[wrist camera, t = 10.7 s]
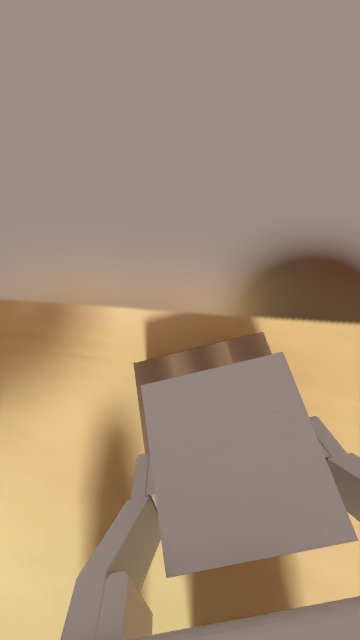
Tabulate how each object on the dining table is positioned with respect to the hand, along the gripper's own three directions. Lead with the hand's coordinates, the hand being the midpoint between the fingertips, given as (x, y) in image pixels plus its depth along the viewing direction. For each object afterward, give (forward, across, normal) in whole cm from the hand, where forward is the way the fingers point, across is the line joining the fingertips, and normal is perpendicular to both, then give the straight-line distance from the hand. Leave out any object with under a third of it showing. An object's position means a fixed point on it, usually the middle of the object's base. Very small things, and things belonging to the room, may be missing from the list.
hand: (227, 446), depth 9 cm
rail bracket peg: (+4, 0, -4) cm, 6 cm away
